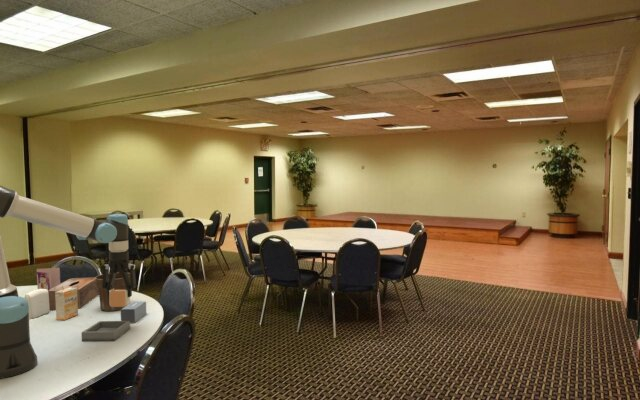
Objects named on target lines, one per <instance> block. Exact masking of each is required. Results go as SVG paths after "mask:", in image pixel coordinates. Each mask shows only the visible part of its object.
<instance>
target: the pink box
mask: <svg viewBox="0 0 640 400" xmlns="http://www.w3.org/2000/svg"><path fill="white" fill-rule="evenodd" d="M60 268H61V267H51V268H50V267H47V268H36V283H37V286H36V287H37V289H47V290H50V289H52V288H54V287H56V286H57V285H59V284H61V271H60V270H61V269H60Z"/></svg>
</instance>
